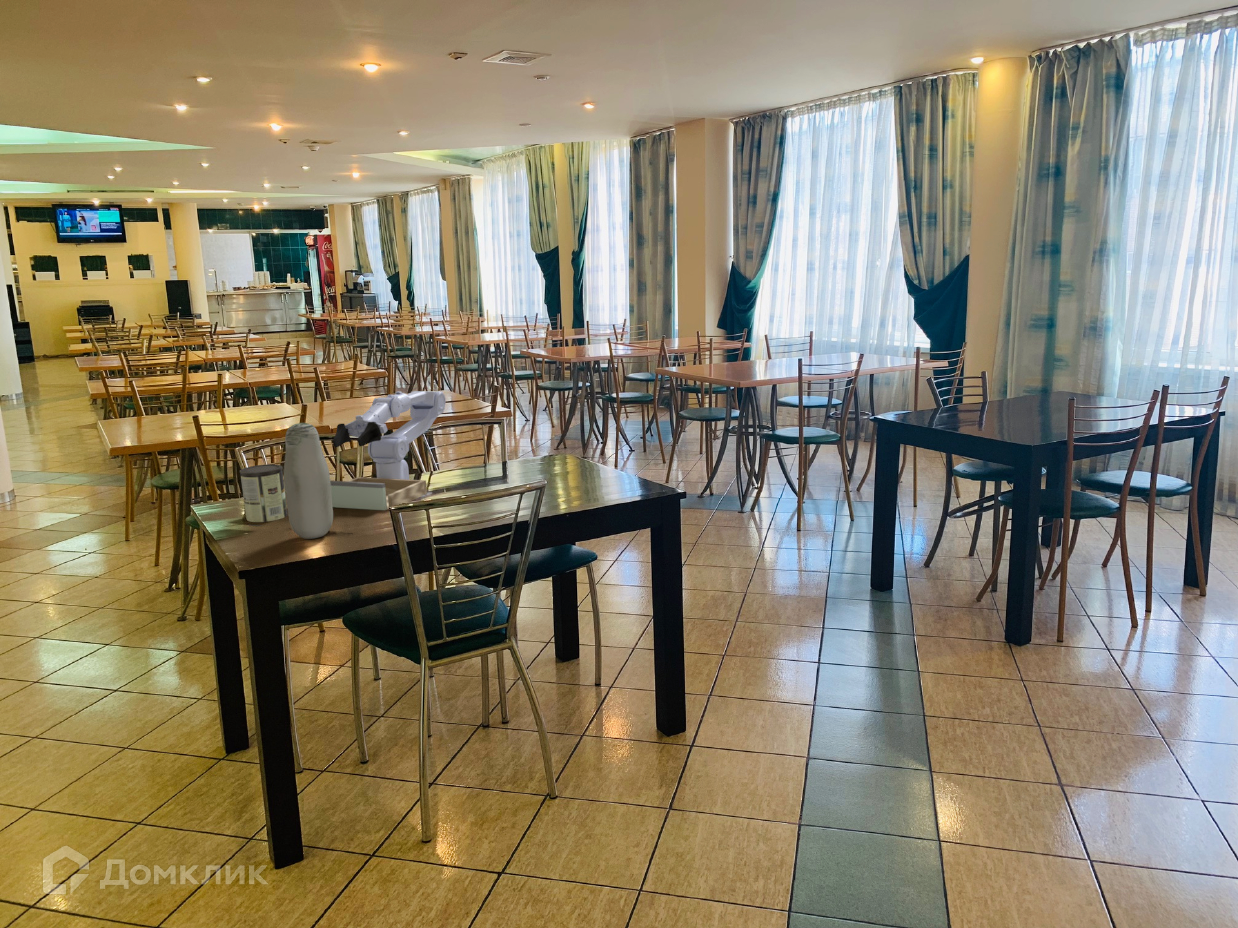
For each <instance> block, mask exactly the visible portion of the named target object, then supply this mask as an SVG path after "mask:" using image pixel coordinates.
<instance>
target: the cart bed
mask: <svg viewBox="0 0 1238 928" xmlns="http://www.w3.org/2000/svg"><path fill="white" fill-rule="evenodd" d="M348 481H349V482H369V483H385V490H386V501H387V510H390V509H389V507H391V506H394V505H399V504H402V503H406V504H407V503H411V502H412V501H414V500H416V499H419V498H421V497H423V496H426V495H427V494H428V489H427V488H428V487H427V480H426V479H425V480H423V479H422V480H421V479H409V480H406V479H386V478H377V477H363V476H358V477H354V478H352V479H349V480H348Z"/></svg>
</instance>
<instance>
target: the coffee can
mask: <svg viewBox="0 0 1238 928" xmlns="http://www.w3.org/2000/svg"><path fill="white" fill-rule="evenodd" d="M283 470H284V467H283V465H280V464H277V463H276V464H273V463H272V464H271V463H270V464H258V465H253V466H252V465H251V466H247V467H243V468H242V469H240V470H239V474H240V480H241V481H240V482H241V489H242V496H243V503H244V510H245V518H246V520H247V521H248V522H251V523H266V522H273V521H278V520H280V519H284V518H285V517H288V508H287V500H286V494H285V486H284V472H283ZM247 525H248V526H249V527H262V525H261V524H247Z"/></svg>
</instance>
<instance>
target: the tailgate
mask: <svg viewBox="0 0 1238 928" xmlns="http://www.w3.org/2000/svg"><path fill="white" fill-rule="evenodd" d="M330 483H331V496H332V507H333V508H340V509H341V508H342V509H343V508H344V509H357V510H374V511H386V510H388V509H387V501H386V490H385V483H369V482H349V480H347V481H345V480H330Z"/></svg>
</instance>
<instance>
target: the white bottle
mask: <svg viewBox="0 0 1238 928" xmlns="http://www.w3.org/2000/svg"><path fill="white" fill-rule="evenodd" d="M284 437H285V438H284V439H285V440H284V441H285V455H284V463H283V464H284V465H283V481H284V490H285V498H286V506H287V514H288V515H287V517H288V521H289V525H290V527H291V529H292V530H293V533H295V535H297V537H300V538H302V539H306V540H311V539H319V538H321V537H324V536H325V535H327V533H328V532H329V531H330V530H331V528H332V525H333V520H334V510H333V509H334V507H332V496H331V483H330V481H331V475H330V469H329V466H328V463H327V460H326V458H325V455H324V452H323V449H322V445H321V441H320V435H319V432H318V430H317V428H316V427H315V426H314V425H313V424H311V423H307V422H299V423H294V424H292V425H290V426H289V428H288V429H286V432H285V436H284Z"/></svg>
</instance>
